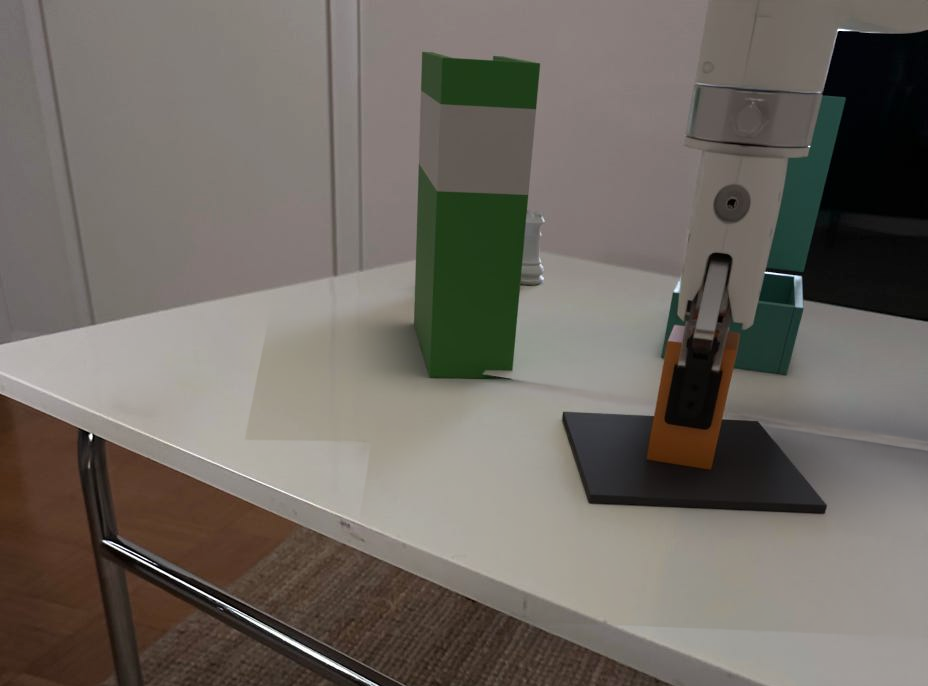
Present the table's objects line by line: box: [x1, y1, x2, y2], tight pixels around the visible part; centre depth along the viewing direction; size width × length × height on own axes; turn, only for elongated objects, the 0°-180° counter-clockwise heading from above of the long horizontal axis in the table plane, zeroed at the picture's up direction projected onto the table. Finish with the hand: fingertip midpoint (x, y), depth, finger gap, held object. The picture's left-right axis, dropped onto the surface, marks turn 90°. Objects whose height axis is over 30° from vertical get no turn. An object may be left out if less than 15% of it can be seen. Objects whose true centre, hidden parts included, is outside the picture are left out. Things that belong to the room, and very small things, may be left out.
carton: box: [647, 325, 740, 470], centre depth 65 cm, size 5×5×8 cm
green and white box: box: [413, 51, 541, 380], centre depth 83 cm, size 18×7×24 cm, turn 6°
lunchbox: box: [660, 271, 805, 376], centre depth 91 cm, size 15×12×7 cm
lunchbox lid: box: [766, 95, 847, 273], centre depth 91 cm, size 15×12×1 cm
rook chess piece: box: [520, 209, 546, 286], centre depth 113 cm, size 4×4×8 cm
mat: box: [561, 411, 828, 514], centre depth 68 cm, size 16×16×1 cm
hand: (690, 410), depth 66 cm, fingers closed on carton, 4 cm apart
